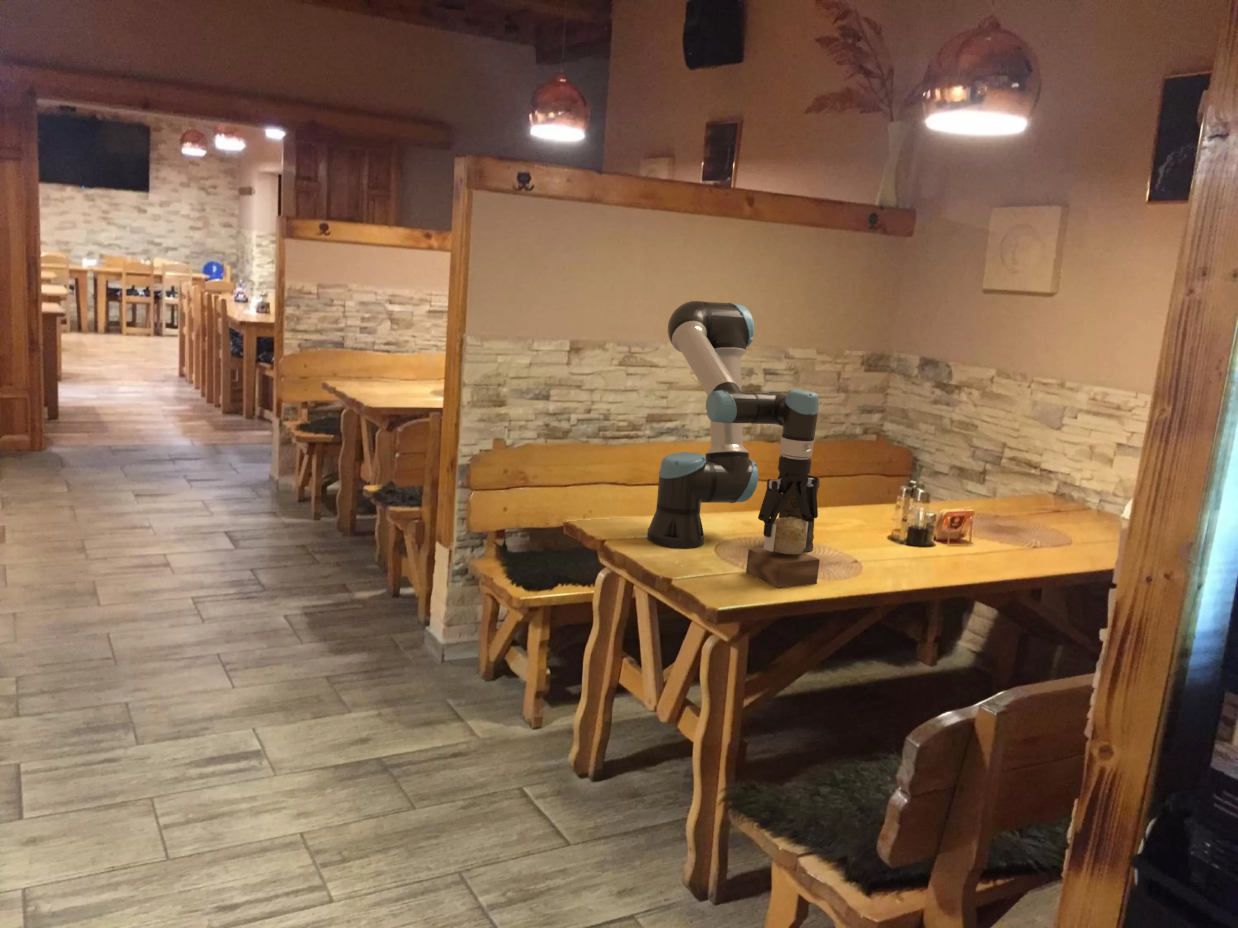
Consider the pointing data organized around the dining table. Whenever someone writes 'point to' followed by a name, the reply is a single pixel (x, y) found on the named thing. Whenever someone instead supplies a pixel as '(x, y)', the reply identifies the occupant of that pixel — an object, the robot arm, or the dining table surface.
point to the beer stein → (798, 515)
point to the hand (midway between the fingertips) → (784, 548)
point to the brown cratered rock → (789, 536)
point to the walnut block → (782, 567)
